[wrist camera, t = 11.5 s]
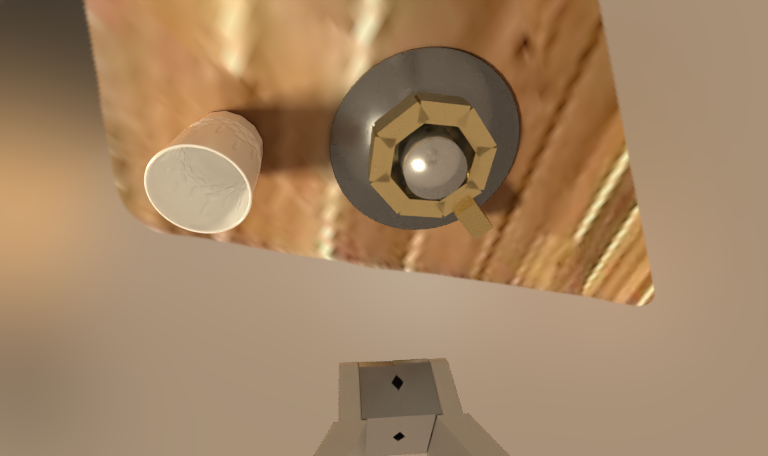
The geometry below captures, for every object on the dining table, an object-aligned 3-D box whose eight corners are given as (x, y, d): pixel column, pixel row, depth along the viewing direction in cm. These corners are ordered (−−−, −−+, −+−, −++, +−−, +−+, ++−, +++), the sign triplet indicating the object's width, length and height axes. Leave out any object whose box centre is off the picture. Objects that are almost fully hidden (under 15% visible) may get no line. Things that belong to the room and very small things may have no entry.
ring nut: (345, 145, 39) (346, 161, 35) (444, 66, 35) (456, 76, 32) (430, 241, 47) (438, 262, 43) (518, 184, 43) (533, 202, 40)
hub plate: (329, 39, 34) (328, 50, 29) (541, 53, 36) (570, 65, 32) (330, 227, 45) (330, 256, 40) (493, 228, 48) (509, 254, 43)
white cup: (285, 143, 39) (272, 190, 30) (239, 193, 41) (215, 249, 33) (216, 86, 35) (180, 122, 27) (169, 144, 38) (123, 194, 29)
